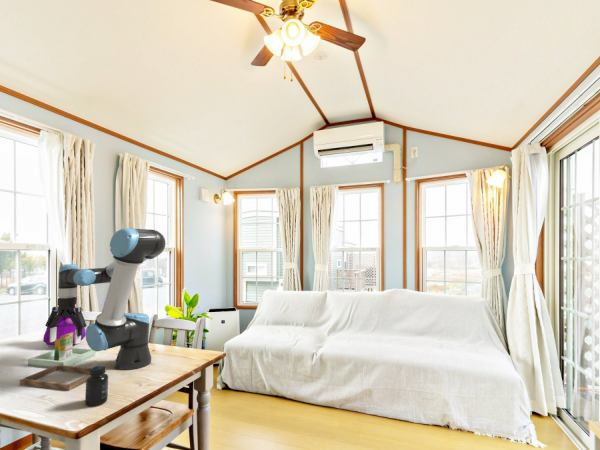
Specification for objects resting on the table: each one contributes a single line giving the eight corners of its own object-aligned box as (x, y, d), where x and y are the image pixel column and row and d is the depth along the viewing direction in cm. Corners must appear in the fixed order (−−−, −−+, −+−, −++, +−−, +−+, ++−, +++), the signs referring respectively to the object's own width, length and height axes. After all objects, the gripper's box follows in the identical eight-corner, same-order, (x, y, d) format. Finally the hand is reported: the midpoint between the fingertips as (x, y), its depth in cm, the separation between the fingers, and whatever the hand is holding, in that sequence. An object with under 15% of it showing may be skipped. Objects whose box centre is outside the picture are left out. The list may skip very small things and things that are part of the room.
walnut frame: (102, 374, 142) (102, 369, 142) (69, 390, 126) (69, 385, 126) (57, 369, 146) (57, 364, 146) (19, 384, 130) (20, 379, 130)
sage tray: (95, 355, 164) (95, 349, 164) (63, 369, 146) (63, 362, 146) (63, 352, 168) (63, 346, 168) (27, 365, 149) (28, 358, 150)
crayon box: (67, 355, 161) (68, 331, 161) (72, 356, 160) (73, 332, 161) (53, 361, 153) (54, 335, 154) (58, 361, 153) (60, 336, 154)
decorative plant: (54, 340, 188) (58, 286, 189) (90, 339, 191) (93, 286, 193) (34, 350, 169) (38, 291, 171) (75, 349, 172) (78, 291, 174)
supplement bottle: (102, 396, 122) (104, 363, 123) (110, 402, 118) (112, 367, 119) (81, 403, 117) (83, 368, 118) (88, 409, 113) (90, 373, 113)
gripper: (96, 296, 160) (94, 341, 159) (52, 295, 164) (49, 338, 163) (83, 298, 153) (81, 345, 151) (37, 297, 157) (35, 343, 156)
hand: (65, 342), depth 157 cm, fingers open, 13 cm apart
